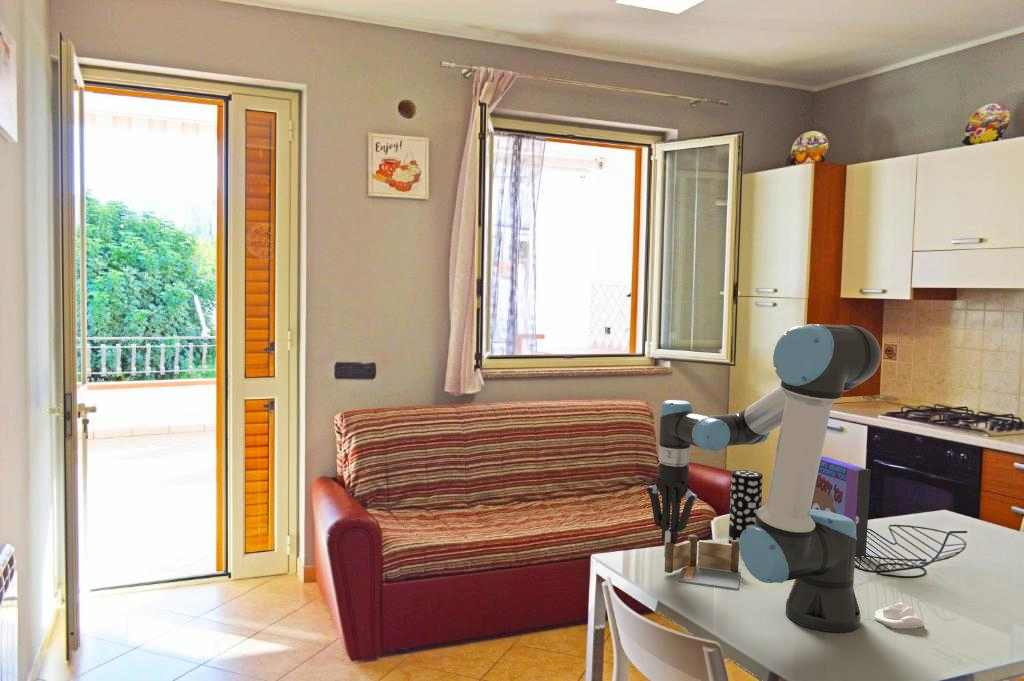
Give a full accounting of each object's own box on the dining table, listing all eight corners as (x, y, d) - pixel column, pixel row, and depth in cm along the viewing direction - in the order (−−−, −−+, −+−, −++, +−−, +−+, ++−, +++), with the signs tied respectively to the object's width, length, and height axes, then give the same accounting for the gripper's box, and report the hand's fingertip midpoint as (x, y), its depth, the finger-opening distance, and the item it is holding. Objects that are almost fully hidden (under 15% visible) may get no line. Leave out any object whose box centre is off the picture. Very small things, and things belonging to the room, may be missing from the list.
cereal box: (808, 538, 229) (813, 456, 228) (822, 537, 231) (826, 456, 229) (851, 558, 213) (856, 470, 211) (865, 557, 214) (870, 469, 213)
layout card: (740, 570, 200) (740, 568, 200) (738, 590, 187) (738, 588, 187) (684, 563, 205) (684, 561, 205) (678, 581, 191) (678, 579, 191)
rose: (918, 616, 164) (869, 603, 170) (917, 637, 164) (868, 623, 170) (930, 602, 171) (882, 591, 178) (928, 622, 172) (881, 610, 178)
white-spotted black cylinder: (752, 550, 217) (756, 478, 215) (723, 544, 222) (727, 473, 220) (763, 543, 223) (767, 473, 222) (735, 537, 228) (738, 468, 227)
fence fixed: (738, 571, 200) (739, 540, 199) (738, 574, 197) (739, 543, 197) (687, 564, 204) (688, 534, 203) (686, 567, 201) (687, 536, 201)
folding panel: (684, 563, 202) (685, 536, 201) (691, 565, 200) (692, 538, 200) (662, 571, 195) (663, 543, 195) (669, 573, 194) (670, 545, 194)
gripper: (643, 461, 197) (638, 554, 198) (692, 469, 189) (687, 566, 191) (655, 456, 203) (651, 546, 205) (703, 464, 195) (698, 557, 197)
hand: (668, 555), depth 198 cm, fingers closed
